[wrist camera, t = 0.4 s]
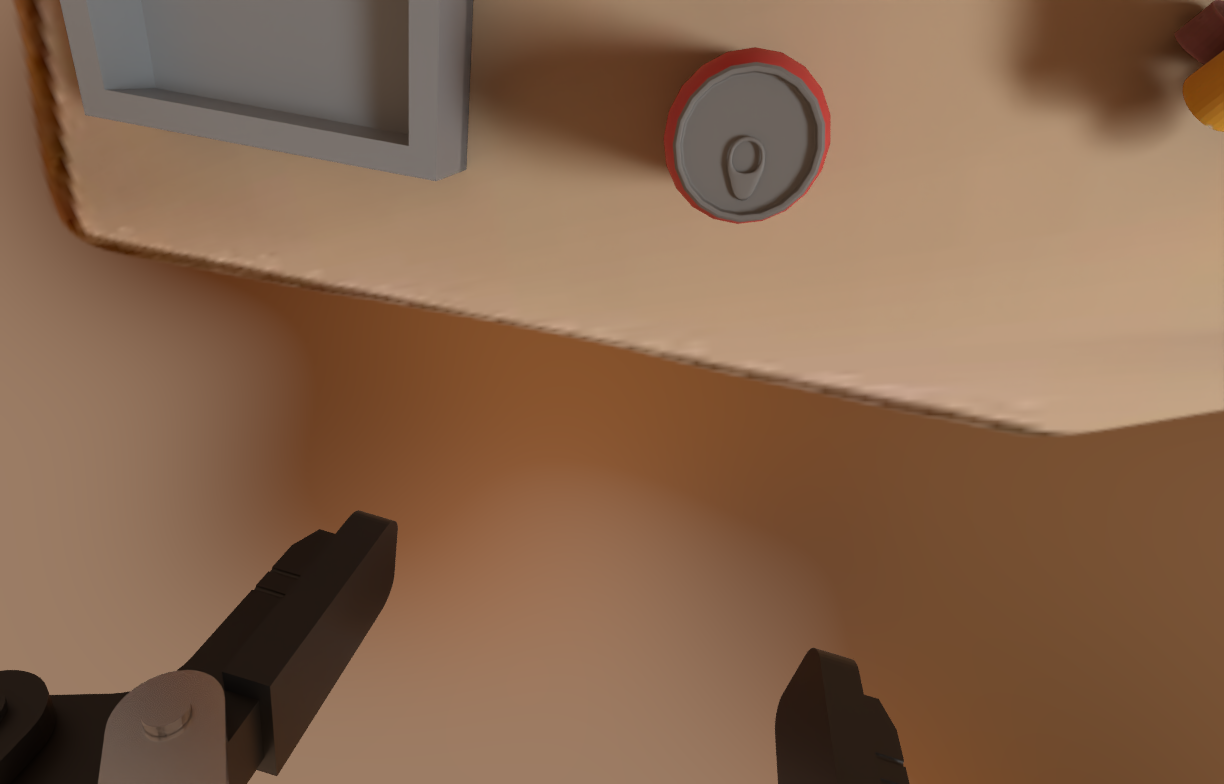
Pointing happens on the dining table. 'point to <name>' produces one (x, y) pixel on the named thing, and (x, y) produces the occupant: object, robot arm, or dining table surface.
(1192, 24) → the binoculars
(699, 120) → the beer can
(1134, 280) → the dining table surface
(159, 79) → the box
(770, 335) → the dining table surface
